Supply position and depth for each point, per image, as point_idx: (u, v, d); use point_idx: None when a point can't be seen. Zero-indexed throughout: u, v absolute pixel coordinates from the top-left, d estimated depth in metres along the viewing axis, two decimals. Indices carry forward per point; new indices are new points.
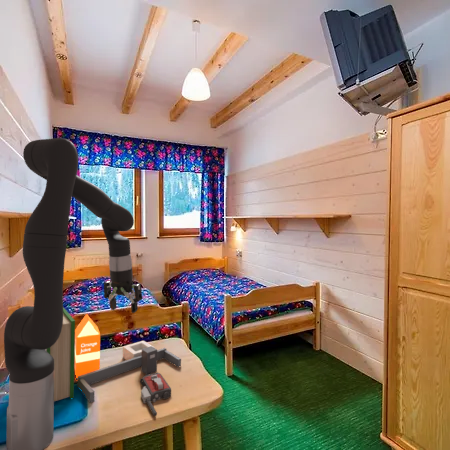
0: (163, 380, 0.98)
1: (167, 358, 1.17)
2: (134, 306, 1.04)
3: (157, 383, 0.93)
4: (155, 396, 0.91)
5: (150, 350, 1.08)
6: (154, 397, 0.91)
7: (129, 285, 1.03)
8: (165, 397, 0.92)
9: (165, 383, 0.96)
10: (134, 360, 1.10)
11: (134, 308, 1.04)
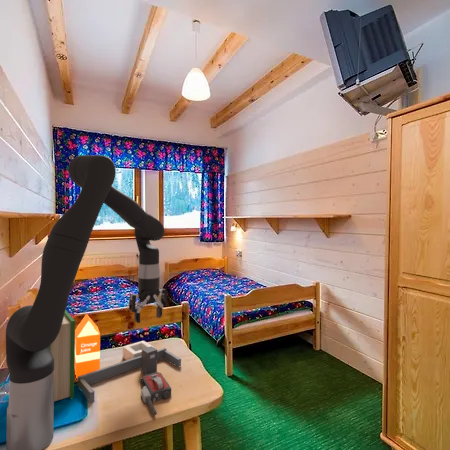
0: (163, 379, 0.98)
1: (167, 358, 1.17)
2: (161, 310, 1.11)
3: (157, 382, 0.94)
4: (155, 395, 0.91)
5: (150, 350, 1.08)
6: (154, 396, 0.91)
7: (159, 291, 1.10)
8: (165, 396, 0.92)
9: (165, 382, 0.96)
10: (134, 360, 1.10)
11: (161, 312, 1.11)
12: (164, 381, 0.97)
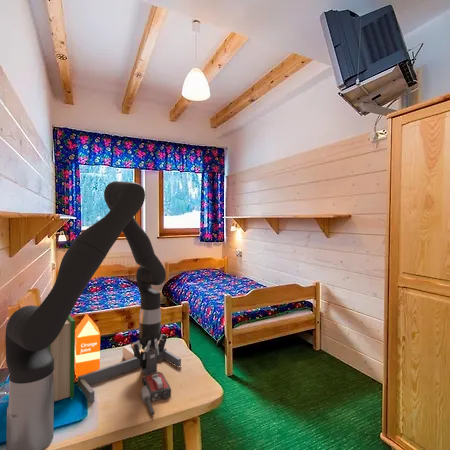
0: (164, 380, 0.98)
1: (167, 358, 1.17)
2: (157, 357, 1.10)
3: (157, 382, 0.94)
4: (154, 395, 0.91)
5: (151, 350, 1.08)
6: (153, 396, 0.91)
7: (160, 335, 1.10)
8: (164, 397, 0.92)
9: (165, 383, 0.96)
10: (134, 360, 1.10)
11: (157, 359, 1.10)
12: (164, 381, 0.97)
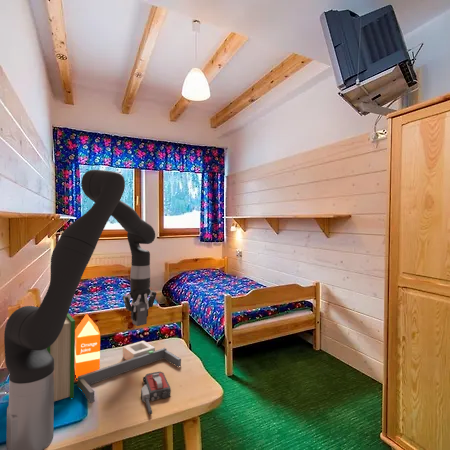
0: (164, 379, 0.98)
1: (167, 358, 1.17)
2: (147, 312, 1.19)
3: (157, 382, 0.94)
4: (154, 395, 0.91)
5: (141, 304, 1.17)
6: (153, 396, 0.91)
7: (150, 291, 1.19)
8: (164, 396, 0.92)
9: (165, 382, 0.96)
10: (134, 360, 1.10)
11: (147, 313, 1.19)
12: (165, 381, 0.97)
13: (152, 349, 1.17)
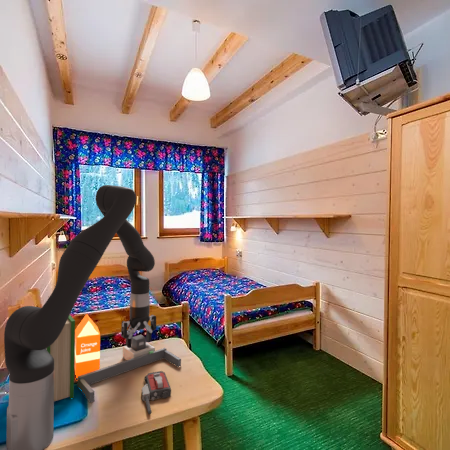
0: (165, 379, 0.98)
1: (167, 358, 1.17)
2: (150, 335, 1.21)
3: (157, 381, 0.94)
4: (154, 394, 0.91)
5: (140, 338, 1.17)
6: (153, 395, 0.91)
7: (149, 317, 1.20)
8: (164, 396, 0.92)
9: (166, 382, 0.96)
10: (134, 360, 1.10)
11: (150, 337, 1.21)
12: (165, 381, 0.97)
13: (152, 349, 1.17)
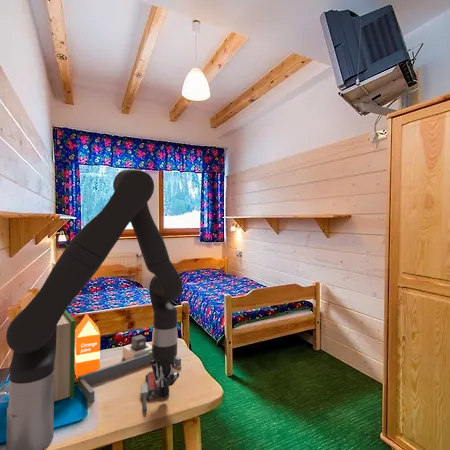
0: None
1: None
2: None
3: (156, 381, 0.95)
4: (152, 393, 0.92)
5: (140, 338, 1.17)
6: (151, 394, 0.92)
7: None
8: None
9: None
10: (134, 360, 1.10)
11: None
12: None
13: None
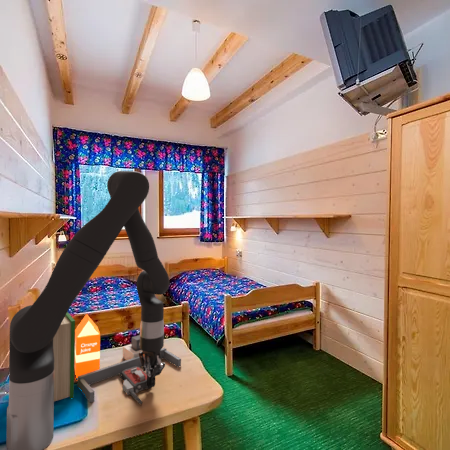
0: (143, 372, 1.02)
1: (167, 358, 1.17)
2: None
3: (138, 375, 0.98)
4: (138, 387, 0.95)
5: None
6: (137, 388, 0.95)
7: None
8: (147, 387, 0.97)
9: (145, 375, 1.01)
10: (134, 360, 1.10)
11: None
12: (144, 373, 1.02)
13: None
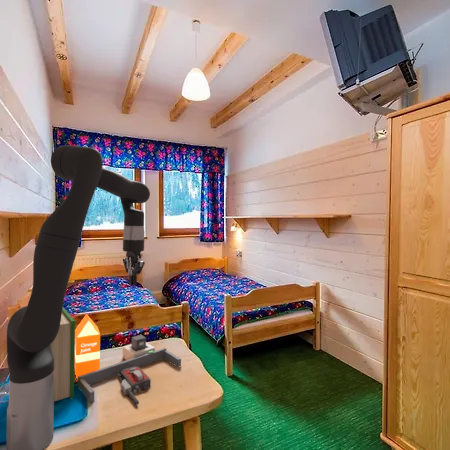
0: (142, 372, 1.02)
1: (167, 358, 1.17)
2: None
3: (137, 375, 0.98)
4: (135, 387, 0.95)
5: (140, 338, 1.17)
6: (134, 388, 0.95)
7: None
8: (145, 387, 0.96)
9: (144, 375, 1.01)
10: (134, 360, 1.10)
11: None
12: (143, 373, 1.01)
13: (152, 349, 1.17)
